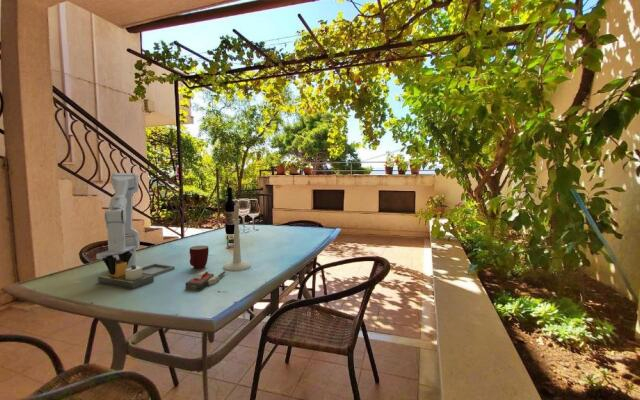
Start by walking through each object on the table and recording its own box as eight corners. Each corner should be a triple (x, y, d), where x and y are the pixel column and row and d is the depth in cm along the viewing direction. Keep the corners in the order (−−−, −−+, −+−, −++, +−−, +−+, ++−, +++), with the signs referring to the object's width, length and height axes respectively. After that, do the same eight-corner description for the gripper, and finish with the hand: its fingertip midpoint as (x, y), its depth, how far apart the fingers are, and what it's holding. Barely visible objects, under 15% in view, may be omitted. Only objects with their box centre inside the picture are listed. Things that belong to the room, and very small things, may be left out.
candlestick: (256, 265, 145) (256, 203, 143) (238, 272, 133) (237, 205, 131) (236, 261, 150) (235, 202, 148) (217, 268, 139) (215, 204, 137)
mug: (201, 273, 132) (201, 251, 131) (184, 272, 133) (183, 250, 132) (211, 266, 143) (211, 245, 142) (195, 265, 143) (194, 245, 142)
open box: (98, 283, 118) (98, 276, 118) (120, 276, 126) (120, 269, 126) (132, 290, 111) (132, 282, 111) (153, 282, 120) (153, 275, 119)
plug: (110, 278, 119) (109, 260, 118) (120, 275, 123) (119, 258, 122) (117, 279, 118) (116, 261, 117) (127, 276, 121) (126, 259, 121)
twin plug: (125, 284, 116) (125, 266, 116) (135, 281, 120) (134, 263, 119) (133, 286, 115) (132, 267, 114) (142, 282, 118) (142, 264, 118)
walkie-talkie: (204, 292, 111) (227, 275, 131) (204, 281, 111) (226, 265, 131) (182, 291, 112) (208, 274, 132) (182, 279, 112) (207, 264, 131)
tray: (131, 274, 129) (130, 270, 129) (155, 267, 140) (155, 263, 140) (151, 278, 125) (151, 274, 125) (174, 270, 136) (174, 266, 136)
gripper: (104, 243, 111) (106, 279, 112) (140, 236, 124) (141, 268, 125) (92, 242, 113) (93, 277, 114) (128, 235, 127) (129, 266, 128)
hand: (118, 272), depth 120 cm, fingers closed on plug, 4 cm apart
